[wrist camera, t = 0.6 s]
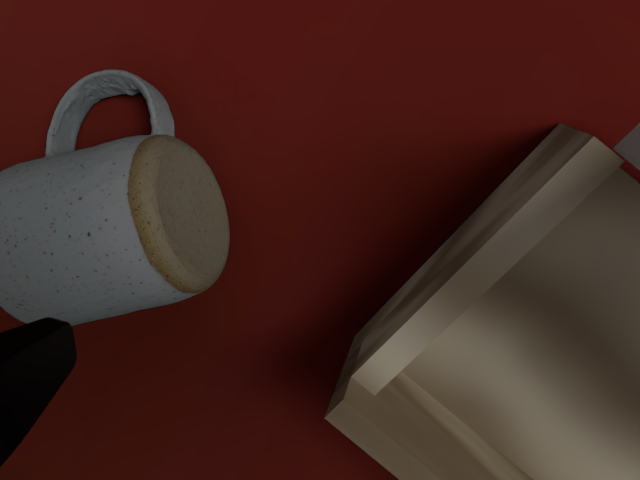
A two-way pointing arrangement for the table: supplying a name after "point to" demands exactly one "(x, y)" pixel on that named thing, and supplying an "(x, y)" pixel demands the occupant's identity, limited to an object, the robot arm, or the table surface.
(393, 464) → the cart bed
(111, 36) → the table surface
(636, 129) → the panel
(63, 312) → the ceramic mug
